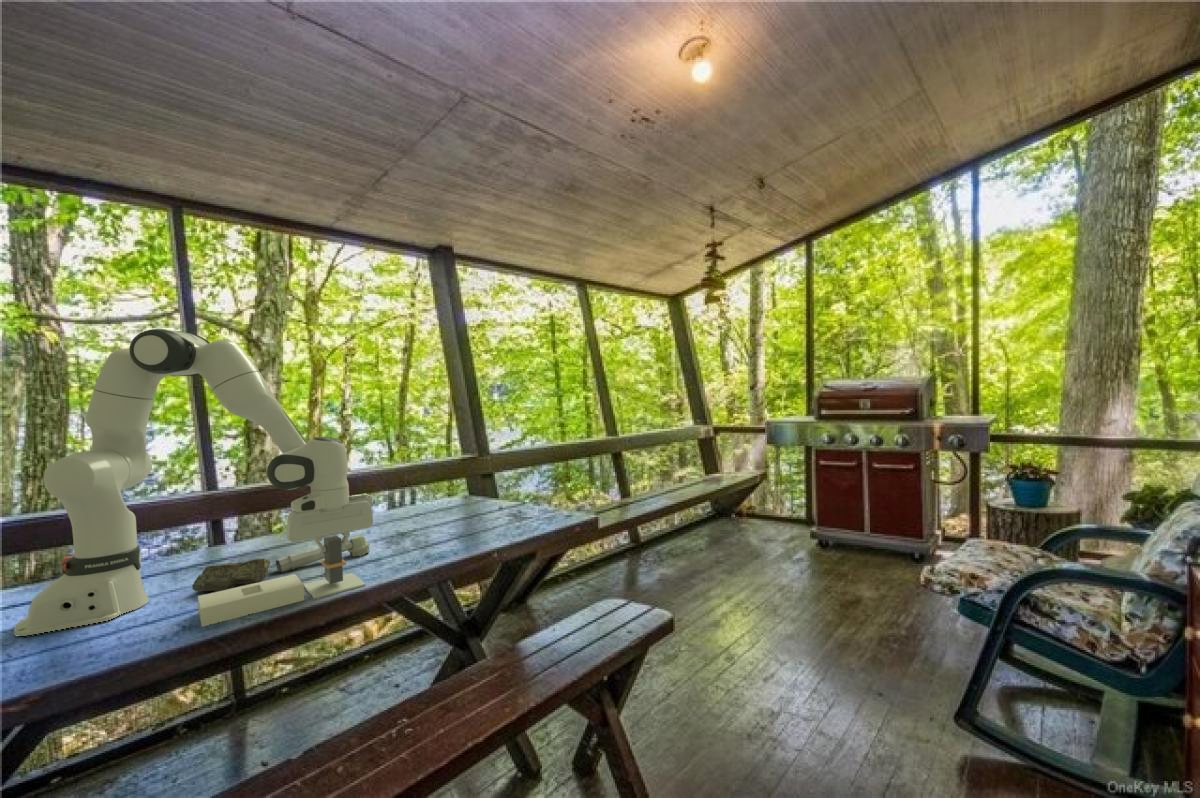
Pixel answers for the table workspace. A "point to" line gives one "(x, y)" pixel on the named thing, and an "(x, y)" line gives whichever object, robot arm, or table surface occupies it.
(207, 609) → the block
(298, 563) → the beige flashlight
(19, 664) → the table surface
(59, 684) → the table surface
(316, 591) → the mat
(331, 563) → the plug
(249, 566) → the rock
